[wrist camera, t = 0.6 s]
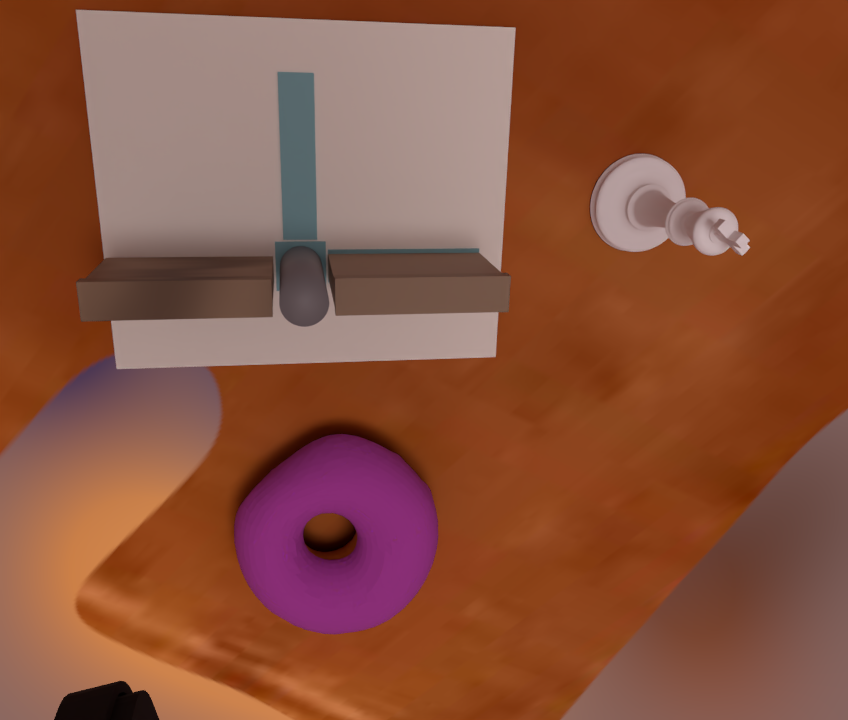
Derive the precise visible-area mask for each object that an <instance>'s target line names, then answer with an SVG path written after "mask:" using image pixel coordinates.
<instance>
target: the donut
mask: <svg viewBox="0 0 848 720" xmlns="http://www.w3.org/2000/svg"><path fill="white" fill-rule="evenodd" d="M321 513H335V514H339V515H342V516H344V517H345V518H347V519H348V520H349V521H350V522H351V523H352V524H353V525H354V527H355V529H356V533H355V535H354V537H353V538H352V540H351V541H350V542H349V543H348V544H347V545H346V546H344V547H342V548H340V549H338V550H335V551H329V552H320V551H315V550H313V549H311V548H309V547H308V546H307V545H306V544H305V542H304V538H303V532H304V527H305V525H306V523H307V522H308V521H309V520H310V519H311V518H313V517H314V516H316V515H319V514H321ZM234 536H235V547H236V552H237V558H238V561H239V564H240V567H241V570H242V573H243V575H244V577H245V579H246V581H247V583H248V585H249V587H250V588H251V589H252V591H253V592H254V594H255V595H256V596H257V598H258V599H259V600H260V601H261V602H262V603H263V604H264V606H265V607H267V608H268V609H269V610H270V611H271V612H273V613H274V614H276V615H278V616H279V617H281V618H283V619H284V620H286V621H288V622H290V623H291V624H293V625H295V626H298V627H300V628H303V629H305V630H309V631H314V632H319V633H323V634H341V633H349V632H356V631H361V630H365V629H368V628H372V627H375V626H377V625H380V624H381V623H383V622H385V621H387V620H389V619H391V618H392V617H393V616H395V615H396V614H397V613H399V612H400V611H401V610H402V609H403V608H404V607H405V606H406V605H407V604H408V603H409V602H410V601H411V600H412V599H413V598H414V596H415V595H416V594H417V593H418V591H419V589H420V588H421V586H422V585H423V583H424V581H425V580H426V578H427V575H428V573H429V571H430V569H431V566H432V564H433V561H434V557H435V553H436V549H437V542H438V519H437V514H436V509H435V505H434V501H433V498H432V494H431V490H430V489H429V487H428V486H427V484H426V483H424V482H423V481H422V480H421V479H420V477H419V476H418V475H417V474H416V473H415V471H414V470H413V469H412V468H411V467H410V466H409V465H408V464H407V463H406V462H405V461H404V460H403V459H402V458H401V456H399V455H398V454H397V453H393V452H391V451H389V450H388V449H386V448H384V447H382V446H380V445H378V444H376V443H375V442H372V441H369V440H367V439H364V438H361V437H359V436H353V435H347V434H335V435H328V436H325V437H322V438H320V439H317V440H315V441H313V442H311V443H309V444H307V445H306V446H304V447H302V448H301V449H299V450H298V451H297V452H295V453H294V454H293V455H291V456H290V457H289V458H288V459H286V460H285V461H283V462H282V463H281V464H279V465H278V466H277V467H276V468H274V469H271V471H270V473H269V474H267V475H266V476H265V477H264V478H263V479H262V480H261V481H260V483H259V484H258V485H257V486H256V487H255V488H254V489H253V490H252V491H251V492H250V493H249V495H248V496H247V497H246V498H245V500H244V501H243V502H242V504H241V505H240V507H239V509H238V512H237V514H236V518H235V524H234Z"/></svg>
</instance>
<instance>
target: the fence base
mask: <svg viewBox="0 0 848 720" xmlns="http://www.w3.org/2000/svg"><path fill="white" fill-rule="evenodd" d="M76 16H77V25H78V33H79V42H80V51H81V60H82V69H83V78H84V86H85V95H86V104H87V113H88V122H89V130H90V139H91V148H92V157H93V166H94V175H95V183H96V192H97V201H98V210H99V219H100V227H101V236H102V245H103V254H104V259H105V258H141V257H249V256H273V267H274V292H273V317H257V318H212V319H166V320H121V321H111V324H112V333H113V342H114V351H115V360H116V368H117V369H137V368H165V367H166V368H168V367H196V366H197V367H198V366H231V365H262V364H293V363H325V362H356V361H388V360H419V359H450V358H482V357H496V341H497V325H498V312H508V311H509V296H510V281H511V276H510V275H509V274H508V273H501V259H502V242H503V226H504V209H505V193H506V176H507V160H508V144H509V127H510V111H511V94H512V78H513V61H514V45H515V28H512V27H487V26H463V25H438V24H413V23H389V22H364V21H340V20H315V19H291V18H266V17H242V16H217V15H193V14H168V13H144V12H119V11H95V10H76Z"/></svg>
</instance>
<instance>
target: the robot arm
mask: <svg viewBox="0 0 848 720" xmlns="http://www.w3.org/2000/svg"><path fill="white" fill-rule="evenodd" d="M54 720H159V718H158V716H157V713H156V710H155V707H154V705H153V702H152V700H151V698H150V696H149V694H148V693H147V692H146V691H144V690H142V691H138V692H134V693H133V692H132V690H131V688H130V687H129V685H128V684H127V683H126V682H124V681H118V682H114V683H110V684H107V685H102V686H99V687H95V688H90V689H86V690H82V691H78V692H74V693H70V694H68V695H67V696H65V697H64V698H63V700H62V702H61V704H60V706H59V708H58V711H57V713H56V717H55V719H54Z"/></svg>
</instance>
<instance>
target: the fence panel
mask: <svg viewBox="0 0 848 720" xmlns="http://www.w3.org/2000/svg"><path fill="white" fill-rule="evenodd" d="M76 286H77V293H78V301H79V309H80V317H81V321H121V320H166V319H212V318H257V317H273V292H274V267H273V256H249V257H141V258H105V259H104V260H103V261H102V262H101V263H100V264H99V265H98V266H97V267H96V268H95V269H94V270H93V271H92V272H91V273H90V274H89V275H88V276H87V277H86V278H85V279H79V280H78V281H77V282H76Z"/></svg>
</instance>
